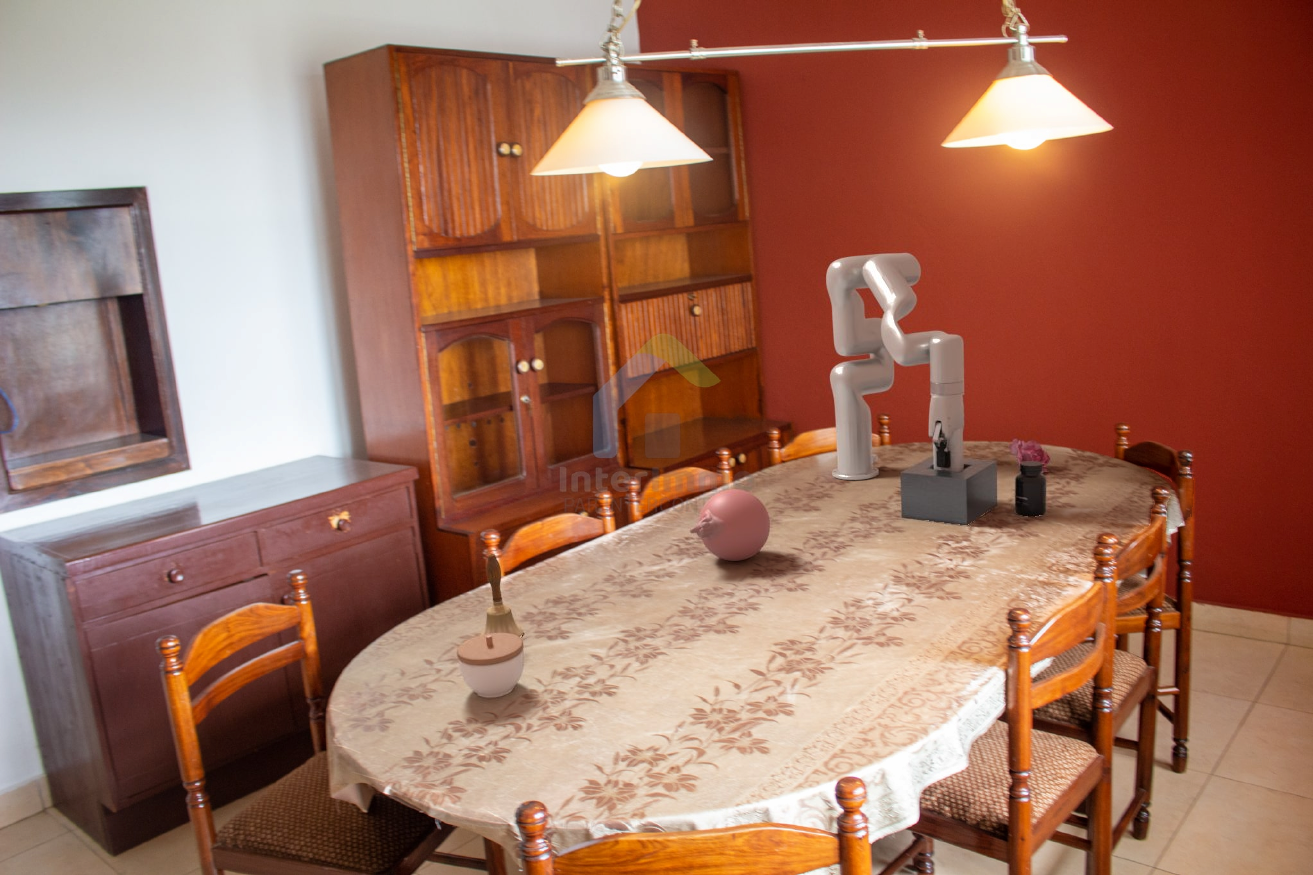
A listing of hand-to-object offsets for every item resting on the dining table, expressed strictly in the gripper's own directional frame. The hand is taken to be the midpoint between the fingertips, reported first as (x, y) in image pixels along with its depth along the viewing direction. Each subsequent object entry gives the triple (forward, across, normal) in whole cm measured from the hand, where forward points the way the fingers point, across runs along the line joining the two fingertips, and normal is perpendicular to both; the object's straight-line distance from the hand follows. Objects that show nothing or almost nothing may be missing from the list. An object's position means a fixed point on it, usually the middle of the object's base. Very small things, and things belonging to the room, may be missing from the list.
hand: (948, 463), depth 242 cm
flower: (+12, -43, +4) cm, 44 cm away
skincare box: (+4, 0, 0) cm, 4 cm away
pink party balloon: (+12, +53, -27) cm, 61 cm away
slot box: (+12, 0, 0) cm, 12 cm away
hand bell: (+12, +106, -41) cm, 114 cm away
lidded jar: (+12, +122, -25) cm, 125 cm away
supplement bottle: (+12, -6, +17) cm, 22 cm away
